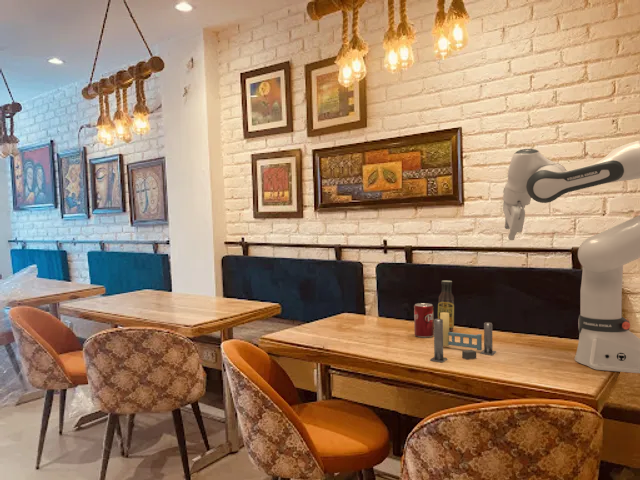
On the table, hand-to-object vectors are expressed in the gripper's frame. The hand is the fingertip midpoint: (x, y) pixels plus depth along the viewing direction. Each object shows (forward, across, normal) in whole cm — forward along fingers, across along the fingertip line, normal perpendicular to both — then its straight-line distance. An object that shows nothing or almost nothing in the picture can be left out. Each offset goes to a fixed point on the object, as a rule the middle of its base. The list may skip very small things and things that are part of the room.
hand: (509, 233), depth 179 cm
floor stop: (+31, -32, +11) cm, 46 cm away
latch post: (+31, -35, +20) cm, 51 cm away
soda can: (+44, -6, +24) cm, 50 cm away
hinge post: (+32, -26, +4) cm, 42 cm away
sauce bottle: (+46, +3, +15) cm, 48 cm away
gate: (+34, -22, +13) cm, 43 cm away
